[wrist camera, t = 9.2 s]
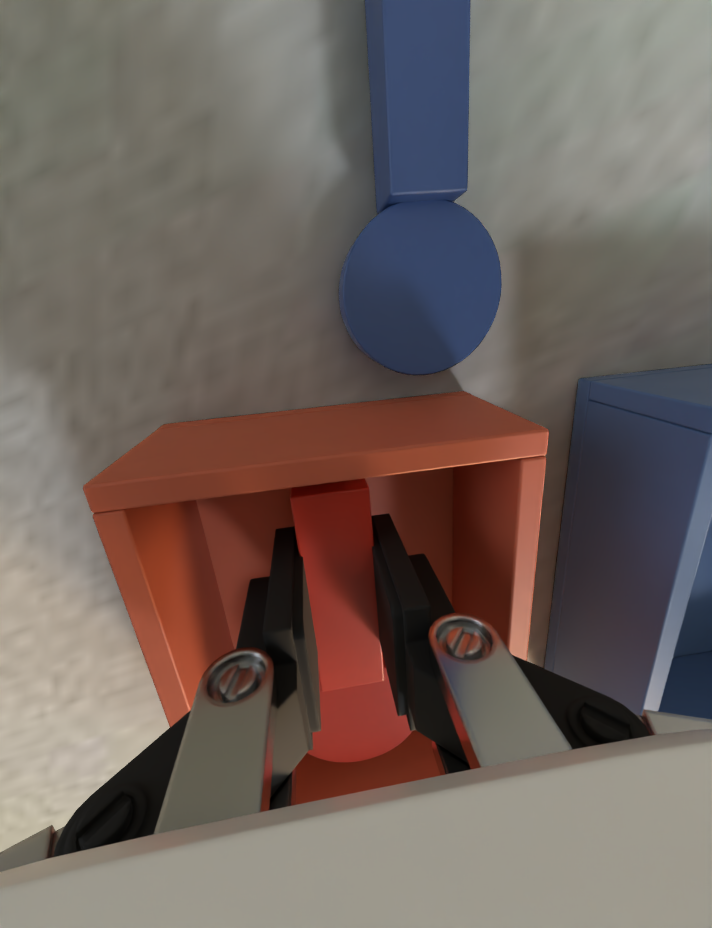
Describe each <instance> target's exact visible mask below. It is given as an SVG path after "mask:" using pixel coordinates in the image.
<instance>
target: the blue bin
mask: <svg viewBox="0 0 712 928" xmlns="http://www.w3.org/2000/svg"><path fill="white" fill-rule="evenodd" d="M544 669H546V670H548V671H551V672H553V673H555V674H558V675H560V676H562V677H564V678H567V679H569V680H571V681H574V682H576V683H578V684H581V685H583V686H585V687H588V688H590V689H592V690H594V691H597V692H599V693H601V694H604V695H606V696H608V697H610V698H612V699H614V700H616V701H618V702H619V703H621V704H623V705H624V706H626V707H627V708H628V709H629V710H630V711H632V712H633V713H634V714H635V715H641V716H642V713H643V709H645V710H652V711H658V712H665V713H671V714H678V715H685V716H691V717H698V718H704V719H711V720H712V364H705V365H696V366H687V367H678V368H669V369H660V370H651V371H642V372H633V373H624V374H615V375H606V376H597V377H588V378H581V379H579V380H578V388H577V396H576V405H575V413H574V422H573V430H572V438H571V447H570V455H569V464H568V472H567V480H566V489H565V497H564V506H563V514H562V522H561V531H560V539H559V548H558V556H557V564H556V573H555V581H554V590H553V598H552V606H551V615H550V623H549V632H548V640H547V648H546V657H545V665H544Z"/></svg>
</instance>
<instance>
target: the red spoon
mask: <svg viewBox="0 0 712 928" xmlns="http://www.w3.org/2000/svg"><path fill="white" fill-rule="evenodd" d="M290 501H291V508H292V514H293V520H294V526H295V532H296V539H297V545H298V551H299V556H300V557H303V561H304V567H305V574H306V580H307V586H308V593H309V599H310V606H311V612H312V618H313V625H314V631H315V638H316V644H317V650H318V670H319V691H320V712H321V731H318V732H313V750H309V751H308V752H307V753H308V754H310V755H312V756H314V757H317V758H320V759H323V760H327V761H333V762H356V761H363V760H367V759H371V758H374V757H377V756H379V755H382V754H384V753H386V752H388V751H390V750H392V749H393V748H395V747H396V746H398V745H399V744H400V743H402V742H403V741H404V740H405V739H406V738H407V737H408V736H409V735H410V734H411V732H412V731H410V728H409V725H408V721H407V717H406V715H403V716H398V715H397V711H396V707H395V703H394V699H393V695H392V690H391V686H390V682H389V678H388V674H387V670H386V665H385V661H384V657H383V653H382V649H381V645H380V639H379V627H378V614H377V602H376V590H375V577H374V565H373V553H372V546H374V541H373V528H372V516H371V504H370V491H369V487H368V484H367V482H366V479H365V478H363V479H355V480H347V481H340V482H332V483H324V484H316V485H308V486H301V487H293V488H291V494H290Z"/></svg>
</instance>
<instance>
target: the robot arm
mask: <svg viewBox="0 0 712 928" xmlns="http://www.w3.org/2000/svg"><path fill="white" fill-rule="evenodd" d="M372 528H373V541H374V546H372V553H373V565H374V577H375V590H376V602H377V614H378V627H379V639H380V645H381V649H382V653H383V657H384V661H385V665H386V670H387V674H388V678H389V682H390V686H391V690H392V695H393V699H394V703H395V707H396V711H397V715H398V716H403V715H406V717H407V721H408V725H409V728H410V731H413V730H416V731H418V732H420V733H421V734H423V735H424V736H426V737H427V738H429V739H431V744H432V750H433V753H434V756H435V759H436V763H437V766H438V769H439V772H440V775H441V776H436V777H431V778H426V779H421V780H416V781H411V782H406V783H401V784H396V785H391V786H386V787H381V788H376V789H371V790H367V791H362V792H357V793H352V794H347V795H342V796H337V797H332V798H327V799H322V800H317V801H312V802H308V803H303V804H298V805H296V770H295V767H296V766H297V765H298V763H299V762H300V761H301V760H302V758H303V757H304V756H305V755H306V753H307V752H308V751H309V750H313V732H318V731H321V712H320V691H319V670H318V650H317V644H316V638H315V631H314V625H313V618H312V612H311V606H310V599H309V593H308V586H307V580H306V574H305V567H304V561H303V557H300V556H299V551H298V545H297V539H296V532H295V526H293V527H286V528H279V529H276V530H275V538H274V546H273V554H272V561H271V569H270V576H267V577H261V578H254V579H251V580H250V582H249V587H248V592H247V597H246V601H245V606H244V611H243V616H242V621H241V626H240V631H239V636H238V641H237V646H236V649H235V650H232V651H230V652H228V653H226V654H224V655H222V656H220V657H219V658H218V659H216V660H215V661H214V662H213V663H211V664H210V666H209V667H208V668H207V669H206V670H205V672H204V673H203V675H202V678H201V680H200V682H199V685H198V688H197V691H196V695H195V698H194V701H193V705H192V708H191V710H190V711H189V712H188V713H187V714H186V715H184V716H183V717H182V718H181V719H180V720H179V721H177V722H176V723H175V724H174V725H173V726H172V727H170V728H169V729H168V730H167V731H166V732H165V733H163V734H162V735H161V736H160V737H159V738H158V739H156V740H155V741H154V742H153V743H152V744H151V745H149V746H148V747H147V748H146V749H145V750H144V751H142V752H141V753H140V754H139V755H138V756H137V757H135V758H134V759H133V760H132V761H131V762H130V763H128V764H127V765H126V766H125V767H124V768H123V769H121V770H120V771H119V772H118V773H117V774H116V775H114V776H113V777H112V778H111V779H110V780H109V781H107V782H106V783H105V784H104V785H103V786H102V787H100V788H99V789H98V790H97V791H96V792H95V793H93V794H92V795H91V796H90V797H89V798H88V799H87V800H86V801H85V802H84V803H83V804H82V805H81V806H80V807H79V808H78V809H77V810H76V812H75V813H74V814H73V816H72V817H71V819H70V820H69V821H68V823H67V824H66V826H65V827H63V828H61V829H59V830H57V831H55V829H54V827H53V826H52V825H51V826H49V827H47V828H46V829H44V830H42V831H40V832H38V833H36V834H34V835H32V836H30V837H29V838H27V839H25V840H23V841H21V842H19V843H17V844H15V845H13V846H12V847H10V848H8V849H6V850H4V851H2V852H0V928H712V720H711V719H704V718H698V717H691V716H685V715H678V714H671V713H665V712H658V711H652V710H645V709H643V713H642V716H641V715H635V714H634V713H633V712H632V711H630V710H629V709H628V708H627V707H626V706H624V705H623V704H621V703H619V702H618V701H616V700H614V699H612V698H610V697H608V696H606V695H604V694H601V693H599V692H597V691H594V690H592V689H590V688H588V687H585V686H583V685H581V684H578V683H576V682H574V681H571V680H569V679H567V678H564V677H562V676H560V675H558V674H555V673H553V672H551V671H548V670H546V669H544V668H541V667H539V666H537V665H535V664H532V663H530V662H528V661H525V660H523V659H521V658H518V657H516V656H514V655H512V654H511V653H510V651H509V650H508V648H507V646H506V645H505V643H504V642H503V640H502V639H501V637H500V636H499V634H498V633H497V631H496V630H495V629H494V628H493V627H492V625H491V624H489V623H488V622H486V621H485V620H483V619H482V618H479V617H477V616H474V615H472V614H465V613H456V612H455V610H454V608H453V606H452V604H451V603H450V601H449V599H448V597H447V595H446V593H445V591H444V589H443V587H442V585H441V583H440V582H439V580H438V578H437V576H436V574H435V572H434V570H433V568H432V566H431V564H430V562H429V561H428V559H427V557H426V555H425V554H423V553H422V554H415V555H409V556H408V554H407V552H406V550H405V547H404V545H403V543H402V541H401V538H400V536H399V534H398V532H397V530H396V527H395V525H394V523H393V521H392V518H391V516H390V514H389V513H388V514H380V515H373V516H372Z"/></svg>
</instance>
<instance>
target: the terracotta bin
mask: <svg viewBox="0 0 712 928" xmlns="http://www.w3.org/2000/svg"><path fill="white" fill-rule="evenodd" d="M548 436H549V430H548V429H547V428H544V427H542V426H540V425H538V424H536V423H533V422H531V421H529V420H527V419H524V418H522V417H520V416H518V415H515V414H513V413H511V412H509V411H507V410H504V409H502V408H500V407H498V406H495V405H493V404H491V403H489V402H486V401H484V400H482V399H480V398H478V397H475V396H473V395H471V394H469V393H467V392H465V391H460V392H451V393H442V394H432V395H423V396H414V397H405V398H396V399H387V400H378V401H369V402H360V403H351V404H342V405H333V406H324V407H315V408H306V409H297V410H288V411H279V412H270V413H261V414H251V415H242V416H233V417H224V418H215V419H206V420H197V421H188V422H179V423H170V424H164V425H162V426H161V427H159V428H158V429H157V430H156V431H155V432H153V433H152V434H151V435H149V436H148V437H147V438H146V439H144V440H143V441H142V442H140V443H139V444H138V445H136V446H135V447H134V448H132V449H131V450H130V451H128V452H127V453H126V454H124V455H123V456H122V457H121V458H119V459H118V460H117V461H115V462H114V463H113V464H111V465H110V466H109V467H107V468H106V469H105V470H103V471H102V472H101V473H100V474H98V475H97V476H96V477H94V478H93V479H92V480H90V481H89V482H88V483H86V484H85V485H84V486H83V490H84V493H85V496H86V498H87V501H88V504H89V507H90V509H91V511H92V512H93V513H94V514H93V519H94V522H95V524H96V527H97V530H98V533H99V535H100V538H101V541H102V543H103V546H104V549H105V552H106V554H107V557H108V560H109V562H110V565H111V568H112V571H113V573H114V576H115V579H116V581H117V584H118V587H119V590H120V592H121V595H122V598H123V600H124V603H125V606H126V609H127V611H128V614H129V617H130V619H131V622H132V625H133V628H134V630H135V633H136V636H137V639H138V641H139V644H140V647H141V649H142V652H143V655H144V658H145V660H146V663H147V666H148V668H149V671H150V674H151V677H152V679H153V682H154V685H155V687H156V690H157V693H158V696H159V698H160V701H161V704H162V706H163V709H164V712H165V715H166V717H167V720H168V723H169V726H170V727H172V726H173V725H174V724H175V723H176V722H177V721H179V720H180V719H181V718H182V717H183V716H184V715H186V714H187V713H188V712H189V711H190V710H191V708H192V705H193V701H194V698H195V695H196V691H197V688H198V685H199V682H200V680H201V678H202V675H203V673H204V672H205V670H206V669H207V668H208V667H209V666H210V664H211V663H213V662H214V661H215V660H216V659H218V658H219V657H220V656H222V655H224V654H226V653H228V652H230V651H232V650H235V649H236V646H237V641H238V636H239V631H240V626H241V621H242V616H243V611H244V606H245V601H246V597H247V592H248V587H249V582H250V580H251V579H254V578H261V577H267V576H270V569H271V561H272V554H273V546H274V538H275V530H276V529H279V528H286V527H293V526H294V520H293V514H292V508H291V501H290V494H291V488H293V487H301V486H308V485H316V484H324V483H332V482H340V481H347V480H355V479H363V478H365V479H366V482H367V484H368V487H369V491H370V504H371V516H373V515H380V514H388V513H389V514H390V516H391V518H392V521H393V523H394V525H395V527H396V530H397V532H398V534H399V536H400V538H401V541H402V543H403V545H404V547H405V550H406V552H407V554H408V556H409V555H415V554H422V553H423V554H425V555H426V557H427V559H428V561H429V562H430V564H431V566H432V568H433V570H434V572H435V574H436V576H437V578H438V580H439V582H440V583H441V585H442V587H443V589H444V591H445V593H446V595H447V597H448V599H449V601H450V603H451V604H452V606H453V608H454V610H455V612H456V613H465V614H472V615H474V616H477V617H479V618H482V619H483V620H485V621H486V622H488V623H489V624H491V625H492V627H493V628H494V629H495V630H496V631H497V633H498V634H499V636H500V637H501V639H502V640H503V642H504V643H505V645H506V646H507V648H508V650H509V651H510V653H511V654H512V655H514V656H516V657H518V658H521V659H523V660H525V661H527V653H528V643H529V633H530V622H531V612H532V602H533V591H534V581H535V571H536V560H537V550H538V540H539V529H540V519H541V509H542V498H543V488H544V478H545V467H546V457H545V456H544V455H546V453H547V447H548ZM295 770H296V805H298V804H303V803H308V802H312V801H317V800H322V799H327V798H332V797H337V796H342V795H347V794H352V793H357V792H362V791H367V790H371V789H376V788H381V787H386V786H391V785H396V784H401V783H406V782H411V781H416V780H421V779H426V778H431V777H436V776H441V775H440V772H439V769H438V766H437V763H436V759H435V756H434V753H433V750H432V744H431V739H429V738H427V737H426V736H424V735H423V734H421V733H420V732H418V731H416V730H413V731H412V732H411V734H410V735H409V736H408V737H407V738H406V739H405V740H404V741H403V742H402V743H400V744H399V745H398V746H396V747H395V748H393V749H392V750H390V751H388V752H386V753H384V754H382V755H379V756H377V757H374V758H371V759H367V760H363V761H356V762H333V761H327V760H323V759H320V758H317V757H314V756H312V755H310V754H308V753H306V755H305V756H304V757H303V758H302V760H301V761H300V762H299V763H298V765H297V766H296V767H295Z"/></svg>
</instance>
